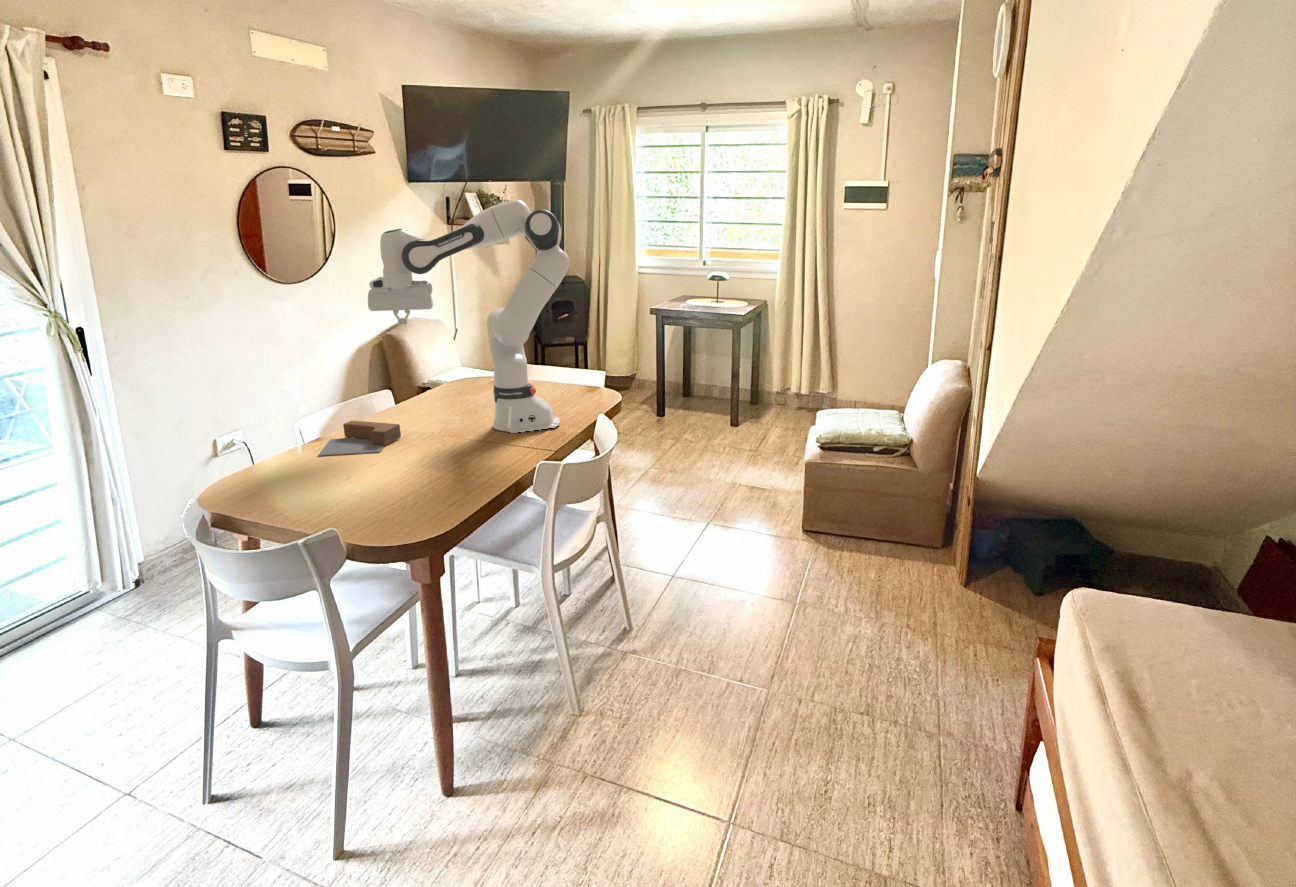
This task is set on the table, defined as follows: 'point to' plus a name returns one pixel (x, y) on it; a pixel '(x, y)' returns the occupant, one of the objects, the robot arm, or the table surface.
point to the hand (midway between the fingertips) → (403, 323)
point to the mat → (350, 447)
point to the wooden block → (372, 431)
